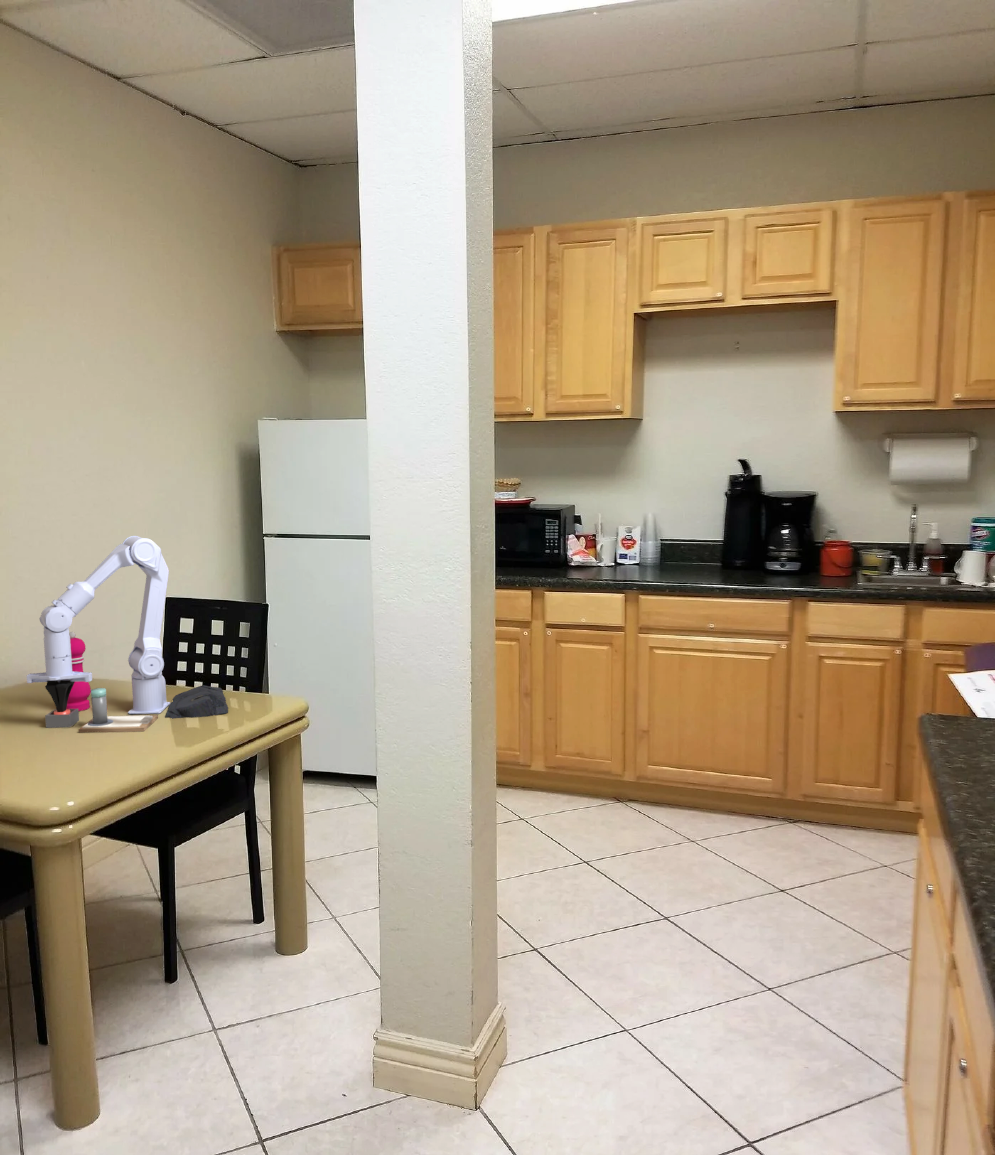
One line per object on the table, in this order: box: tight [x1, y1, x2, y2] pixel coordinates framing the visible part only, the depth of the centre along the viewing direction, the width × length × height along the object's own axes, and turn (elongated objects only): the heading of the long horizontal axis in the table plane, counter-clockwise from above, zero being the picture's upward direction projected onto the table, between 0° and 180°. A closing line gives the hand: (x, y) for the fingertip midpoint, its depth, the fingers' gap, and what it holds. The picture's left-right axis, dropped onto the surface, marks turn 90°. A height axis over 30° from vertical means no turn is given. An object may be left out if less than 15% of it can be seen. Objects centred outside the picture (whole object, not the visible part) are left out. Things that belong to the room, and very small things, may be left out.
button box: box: [45, 708, 80, 729], centre depth 225 cm, size 6×6×3 cm
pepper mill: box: [66, 631, 92, 712], centre depth 238 cm, size 7×7×20 cm
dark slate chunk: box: [164, 685, 229, 720], centre depth 241 cm, size 15×22×5 cm
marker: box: [90, 687, 108, 724], centre depth 222 cm, size 3×3×8 cm
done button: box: [54, 709, 70, 715], centre depth 225 cm, size 4×4×2 cm
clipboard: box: [78, 714, 159, 734], centre depth 224 cm, size 11×15×2 cm
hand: (61, 711), depth 225 cm, fingers closed, pressing on done button
